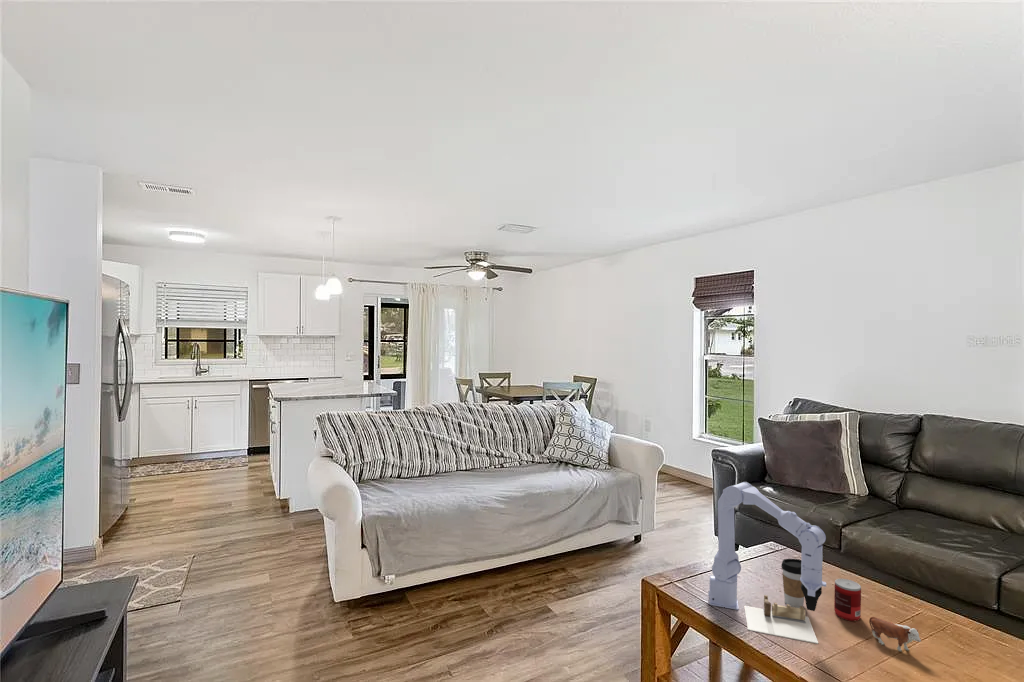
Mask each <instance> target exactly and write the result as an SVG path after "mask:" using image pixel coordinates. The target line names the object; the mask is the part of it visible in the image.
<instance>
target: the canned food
mask: <svg viewBox="0 0 1024 682" xmlns="http://www.w3.org/2000/svg"><path fill="white" fill-rule="evenodd" d="M833 606H834V608H833V611H834V613H835V615H836V616H837V617H839V618H840V619H843V620H845V621H849V622H856V621H857V622H858V621H859V620H860V619H861V615H862V614H861V611H862V586H861V585H860V584H859V583H858V582H856V581H854V580H852V579H848V578H837V579H835V580H834V605H833Z"/></svg>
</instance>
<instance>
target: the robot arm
mask: <svg viewBox="0 0 1024 682" xmlns="http://www.w3.org/2000/svg"><path fill="white" fill-rule="evenodd" d="M740 504H743V505H748V506H749V505H750V506H751V505H753V506H754V505H755V506H756V507H758V508H759V509H761V510H762V511H764V512H765V513H767V514H768V515H770V516H772V517H773V518H775V519H776V520H777V523H778V525H779V526H781V528H783V529H785V530H786V532H788V533H790V535H791V534H792V535H793V536H794V537H795V538H797V539H798V542H799V543H800V545H801V556H800V557H801V559H800V560H801V577H800V581H801V582H802V583H801V590H802V592H803V594H804V602H805V605H806V606H805V607H806V610H808V611H813V612H816V609H817V605H818V601H819V598H820V596H821V595H822V594H823V591H822V589H823V588H822V587H827V582H826V581H823V557H824V556H823V547H824V546H823V545H824V543H825V542H826V540H827V536H826V533H825V532H824V530H823V529H822V528H820V526H819V525H812V524H811V523H810V522H807V521H805V520H803V519H802V518H800V517H799V516H798V515H797V513H796V512H795V511H790V510H783V509H782V508H780V507H779V506H778V505H777V504H775V503H774V502H773V501H771V500H770V499H769V498H768V497H767V496H765V495H764V494H763V493H761V492H760V491H759V489H758V488H757V487H755V486H753V485H752V484H751V483H749V482H747V481H743V482H740V483H738V484H733V485H730V486H727V487H725V488H724V489H722V494H721V495H720V497H719V498H718V500H717V523H718V524H717V531H718V534H717V536H718V537H717V540H718V544H717V545H718V546H717V547H718V551H717V552H716V554H715V556H714V557H713V564H712V565H711V572H712V574H713V575H709V588H708V589H709V590H708V593H707V594H708V597H709V602H708V603H709V605H710V606H714V607H720V608H724V607H725V609H730V610H731V609H732V610H736V611H738V610H739V609H740V608H739V602H738V575H739V574H740V573H741V571H742V565H741V563H740V560H739V555H738V553H737V552H736V549H735V548H736V547H735V546H736V545H735V544H736V543H735V542H736V541H735V538H736V537H735V535H736V533H735V531H736V529H735V508H736V507H738V506H739V505H740Z"/></svg>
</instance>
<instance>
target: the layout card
mask: <svg viewBox="0 0 1024 682" xmlns="http://www.w3.org/2000/svg"><path fill="white" fill-rule="evenodd" d="M743 608H744V615H745V621H746V626H747V627H746V628H747V631H749V632H750V631H751V632H756V633H761V634H766V635H771V636H776V637H781V638H786V639H792V640H795V641H802V642H807V643H812V644H817V645H818V644H819V641H818V638H817V636H816V634H815V631H814V629H813V626H812V623H811V620H810V618H809V616H805V620H801V619H794V618H787V617H780V616H773V615H772V609H771V616H770V617H768V616H765V615H764V608H762V607H761V608H760V607H755V606H748V605H744V606H743Z"/></svg>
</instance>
